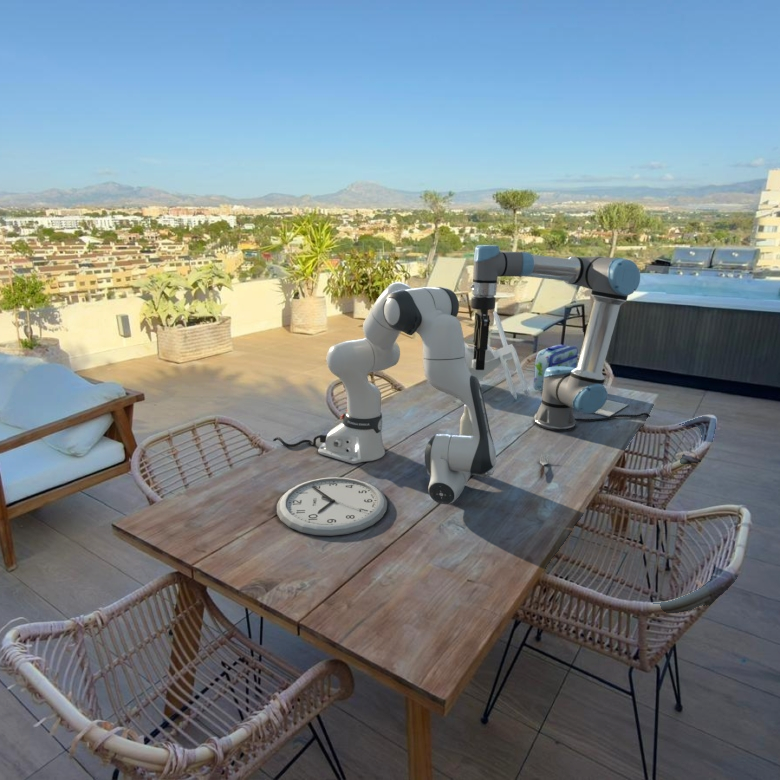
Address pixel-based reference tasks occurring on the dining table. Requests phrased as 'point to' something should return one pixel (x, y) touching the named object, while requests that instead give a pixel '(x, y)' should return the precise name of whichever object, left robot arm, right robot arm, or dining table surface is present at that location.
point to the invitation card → (610, 408)
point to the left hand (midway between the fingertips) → (466, 451)
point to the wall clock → (331, 506)
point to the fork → (543, 464)
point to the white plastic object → (497, 360)
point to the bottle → (465, 423)
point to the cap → (475, 363)
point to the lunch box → (553, 361)
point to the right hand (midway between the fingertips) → (478, 367)
